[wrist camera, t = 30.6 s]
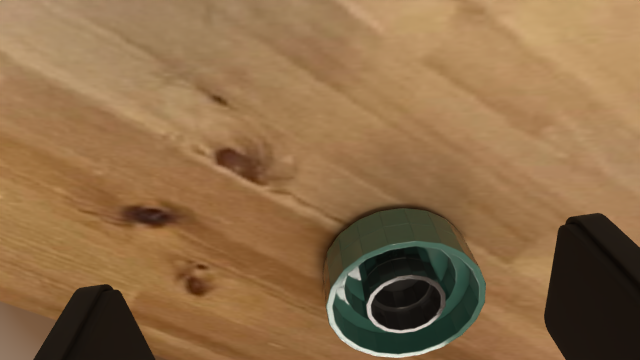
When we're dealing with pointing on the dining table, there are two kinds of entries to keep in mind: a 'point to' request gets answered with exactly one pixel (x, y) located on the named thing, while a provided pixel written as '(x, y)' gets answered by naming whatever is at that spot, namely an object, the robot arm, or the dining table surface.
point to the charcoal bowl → (402, 290)
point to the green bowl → (396, 233)
